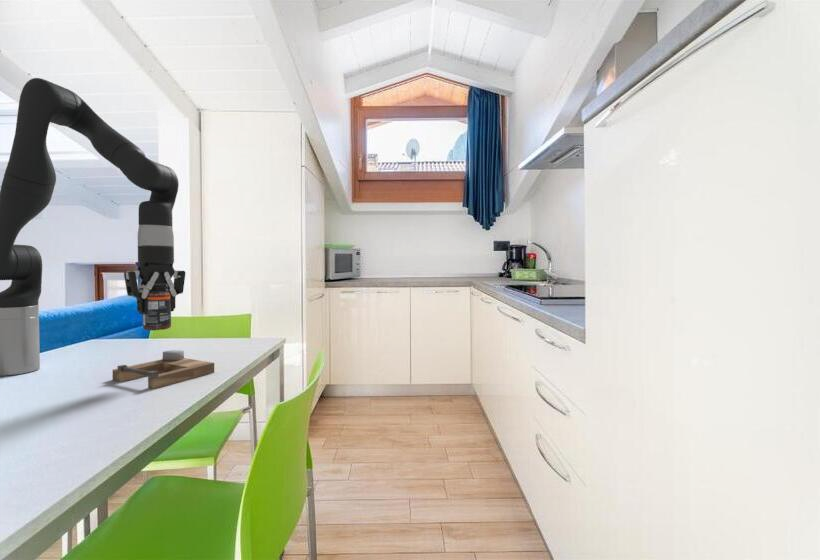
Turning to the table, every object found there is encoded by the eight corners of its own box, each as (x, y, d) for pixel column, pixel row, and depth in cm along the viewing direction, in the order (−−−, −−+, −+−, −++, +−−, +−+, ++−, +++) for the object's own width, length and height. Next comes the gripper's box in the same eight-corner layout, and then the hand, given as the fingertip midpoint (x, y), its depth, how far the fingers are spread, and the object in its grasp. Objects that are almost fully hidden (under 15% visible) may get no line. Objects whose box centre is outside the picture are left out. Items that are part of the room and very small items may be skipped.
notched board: (112, 379, 98) (111, 364, 98) (174, 365, 112) (174, 352, 112) (153, 388, 91) (152, 372, 91) (214, 372, 106) (214, 358, 105)
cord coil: (159, 360, 106) (159, 353, 106) (166, 357, 111) (166, 350, 111) (180, 360, 107) (180, 353, 107) (186, 357, 112) (186, 350, 112)
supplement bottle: (154, 326, 102) (154, 282, 102) (176, 327, 101) (176, 283, 101) (136, 330, 96) (136, 283, 96) (159, 331, 95) (159, 284, 95)
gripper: (174, 246, 106) (174, 309, 107) (115, 243, 93) (116, 314, 94) (193, 246, 103) (193, 310, 103) (134, 242, 90) (135, 317, 90)
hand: (156, 312), depth 98 cm, fingers closed on supplement bottle, 6 cm apart
